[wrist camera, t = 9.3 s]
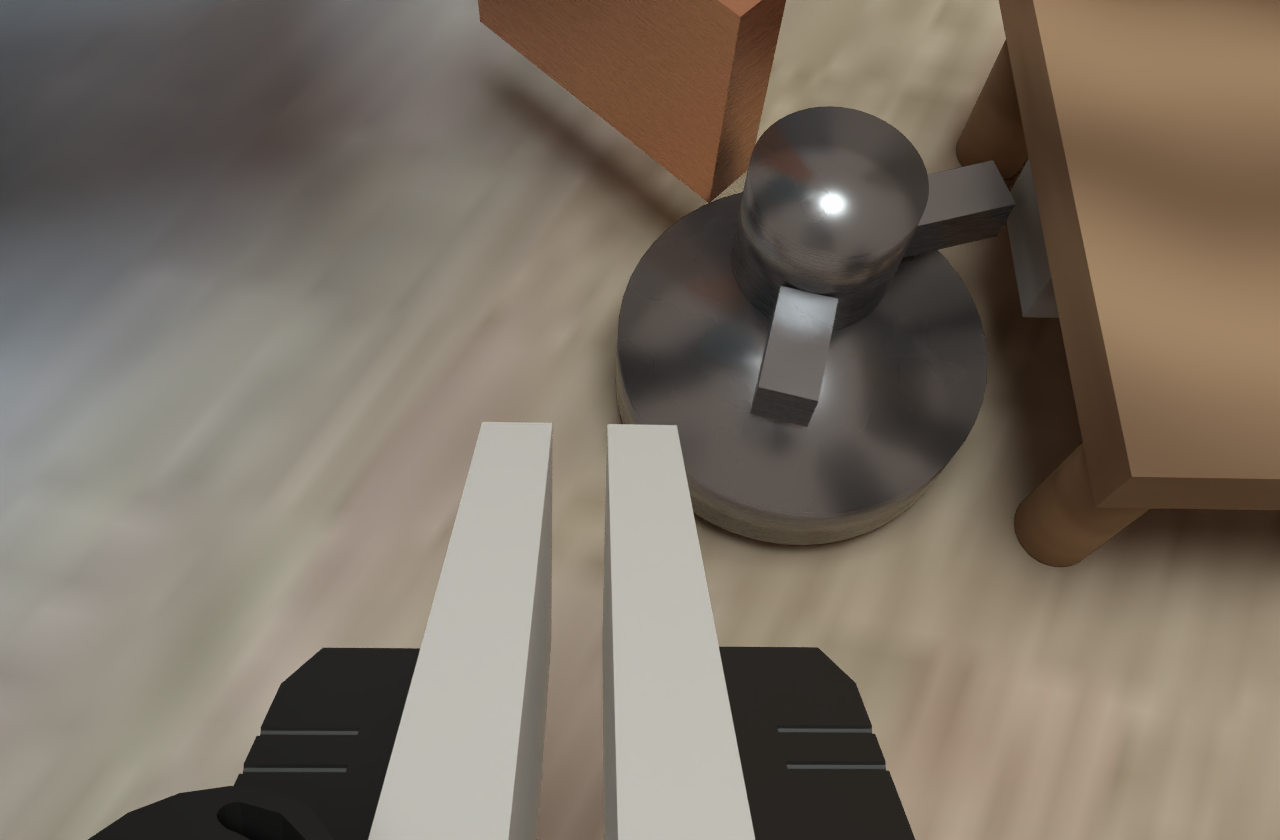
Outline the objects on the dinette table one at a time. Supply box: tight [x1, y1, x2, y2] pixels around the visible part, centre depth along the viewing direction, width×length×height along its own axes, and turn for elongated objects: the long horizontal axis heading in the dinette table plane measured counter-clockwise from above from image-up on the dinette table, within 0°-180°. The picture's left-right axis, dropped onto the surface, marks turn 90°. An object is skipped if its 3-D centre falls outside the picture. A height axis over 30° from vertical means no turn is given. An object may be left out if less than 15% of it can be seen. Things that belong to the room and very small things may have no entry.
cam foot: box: [478, 0, 1016, 545], centre depth 23 cm, size 15×10×8 cm, turn 46°
